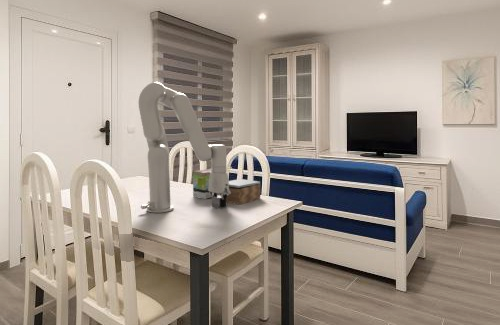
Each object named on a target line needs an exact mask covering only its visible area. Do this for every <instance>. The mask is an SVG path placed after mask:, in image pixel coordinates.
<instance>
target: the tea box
mask: <svg viewBox="0 0 500 325" xmlns="http://www.w3.org/2000/svg"><path fill="white" fill-rule="evenodd" d="M210 172H211V168H205V169H201V170H199V169H198V170H194V171H193V172H192V173H193V174H192V175H193V176H192V181H193V182H192V196H193V198H198V199H201V200H202V199H203V200H206V199H209V198H210V199H211V198H212V197H211V194H210V192H209V191H208V188H209V176H210ZM217 196H219V193H217Z"/></svg>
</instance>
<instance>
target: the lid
mask: <svg viewBox="0 0 500 325" xmlns="http://www.w3.org/2000/svg"><path fill="white" fill-rule="evenodd" d="M228 181H229V186H230V187H236V188H241V187H246V186H251V185H256V184H260V185H261V181H257V180H251V179H243V178H240V179H233V180H232V179H231V180H228Z"/></svg>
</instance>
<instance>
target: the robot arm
mask: <svg viewBox="0 0 500 325" xmlns="http://www.w3.org/2000/svg"><path fill="white" fill-rule="evenodd" d="M191 103H192V102H191V101H190V99H189V97H188V96H187V95H186V94H184V93H182V92H177V91H176V90H173V89H171V88H168V87H167V86H164V84H162V83H161V82H158V81H153V82H150V83H148V84H147V85H146V86H145V87H143V89H142V90H141V91H140V94H139V97H138V109H139V110H138V111H139V114H140V121H141V126H142V132H143V135H144V137H145V139H146V142H147V148H148V150H147V151H148V152H147V164H148V165H147V166H148V182H149V185H148V186H149V188H148V189H149V200H148V201H147V203H146V204H141V206H140V209H141V210H145V209H146V211H147V212H148V213H154V214H155V213H156V214H158V213H159V214H161V213H167V212H172V211H174V209H175V206H174V205H172V204H171V182H170V181H171V178H170V148H169V144H168V139H167V134H166V130H165V127H164V125H163V124H162V121H161V116H160V111H159V104H161V105H162V106H165V107H167V108H169V109H172V110H173V111H174V113H175V115H176V118H177V120H178V122H179V124H180V127H181V128H182V131H183V133H184V134H185V136H186V138H187V139H188V142H189V143H190V146H191V148H192V150H193V152H194V154H195V156H196V159H197V160H199V161H201V162H208V160H210V169H211V172H210V176H209V188H208V191H209V192H210V194H211V197H210V198H212V197H215V196H217V193H219V194H221V198H222V199H221V207H223V208H226V207H227V202H226V199H227V197H228V196H229V195H230V194H231V192H230V190H229V181H230V180H229V175H228V171H227V170H228V169H227V146H226V145H225V144H220V143H219V144H217V143H216V144H209V143H208V142H209V141H208V139H207V138H206V136H205V133H204V131H203V129H202V126H201V124H200V121H199V119H198V116H197V115H196V112H195V110H194V108H193V105H192V104H191ZM226 192H227V193H226ZM223 194H224V195H223ZM225 206H226V207H225Z"/></svg>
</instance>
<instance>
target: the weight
mask: <svg viewBox="0 0 500 325" xmlns="http://www.w3.org/2000/svg"><path fill="white" fill-rule="evenodd" d="M221 199H222V198H221V196H215V197H211V207H212V208H215V209H223V208H226V207H227V205H226V206H225V207H221Z"/></svg>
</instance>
